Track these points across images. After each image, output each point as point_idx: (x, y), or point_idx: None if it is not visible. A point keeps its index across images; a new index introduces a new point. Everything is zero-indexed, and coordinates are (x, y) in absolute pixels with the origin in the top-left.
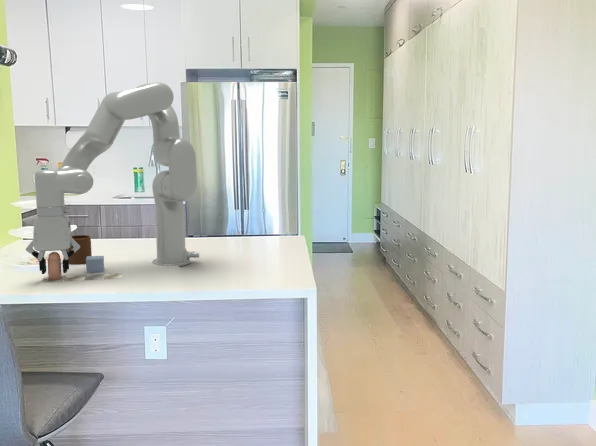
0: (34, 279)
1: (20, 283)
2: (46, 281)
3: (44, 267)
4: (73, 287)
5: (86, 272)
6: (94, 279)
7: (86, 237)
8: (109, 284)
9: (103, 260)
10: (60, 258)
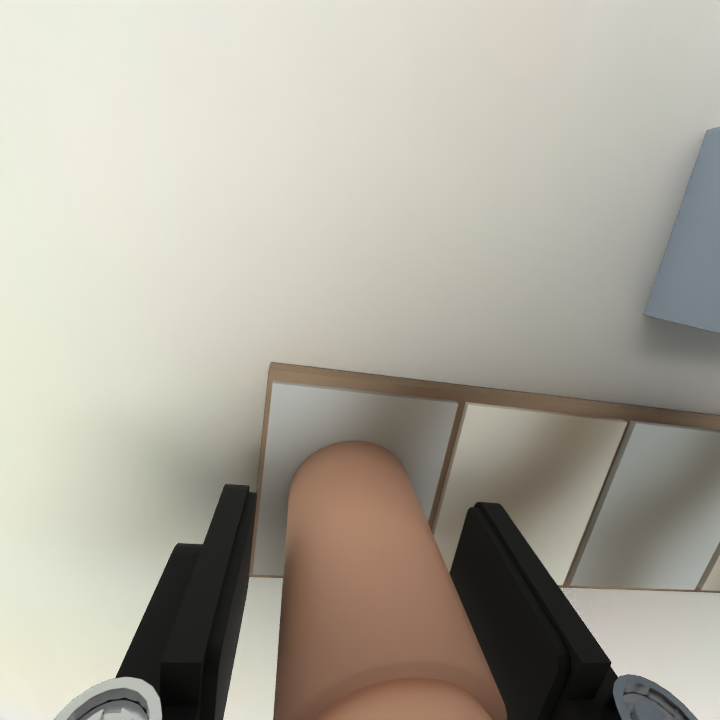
0: (128, 325)
1: (14, 451)
2: (276, 560)
3: (235, 643)
4: None
5: (667, 318)
6: (644, 584)
7: None
8: (688, 635)
9: None
10: (503, 711)
